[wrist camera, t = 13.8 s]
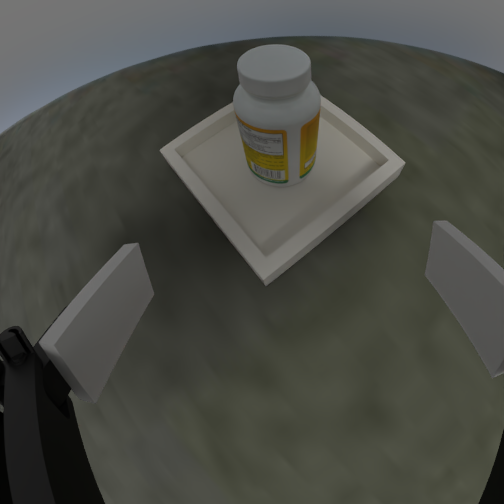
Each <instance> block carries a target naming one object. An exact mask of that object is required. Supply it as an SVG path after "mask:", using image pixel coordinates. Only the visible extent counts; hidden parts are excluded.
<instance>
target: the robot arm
mask: <svg viewBox="0 0 504 504" xmlns="http://www.w3.org/2000/svg"><path fill="white" fill-rule="evenodd" d="M425 276H426V277H427V279H428V280H429V281H430V283H431V284H432V285H433V287H434V288H435V289H436V291H437V292H438V293H439V295H440V296H441V298H442V299H443V300H444V302H445V303H446V305H447V306H448V307H449V309H450V310H451V312H452V313H453V315H454V316H455V318H456V319H457V321H458V322H459V324H460V325H461V327H462V328H463V330H464V331H465V333H466V334H467V336H468V338H469V339H470V341H471V342H472V344H473V346H474V347H475V349H476V351H477V352H478V354H479V356H480V357H481V359H482V361H483V363H484V364H485V366H486V368H487V370H488V371H489V373H490V375H491V377H492V378H494V377H496V376H498V375H501V374H503V373H504V269H503V268H502V267H501V266H500V265H498V264H497V263H496V262H495V261H494V260H493V259H492V258H491V257H490V256H489V255H488V254H486V253H485V252H484V251H483V250H482V249H481V248H480V247H478V246H477V245H476V244H475V243H474V242H473V241H471V240H470V239H469V238H468V237H467V236H465V235H464V234H463V233H462V232H460V231H459V230H458V229H457V228H455V227H454V226H453V225H452V224H450V223H449V222H448V221H433V229H432V236H431V243H430V249H429V255H428V260H427V266H426V271H425ZM153 296H154V291H153V288H152V285H151V282H150V279H149V276H148V273H147V270H146V267H145V263H144V260H143V257H142V254H141V250H140V247H139V243H133V244H124V245H123V246H122V247H121V248H120V249H119V250H118V251H117V252H116V253H115V254H114V256H113V257H112V258H111V259H110V260H109V261H108V262H107V263H106V264H105V265H104V266H103V267H102V268H101V269H100V270H99V271H98V272H97V274H96V275H95V276H94V277H93V278H92V279H91V280H90V281H89V282H88V283H87V285H86V286H85V287H84V288H83V289H82V290H81V291H80V292H79V294H78V295H77V296H76V297H75V298H74V299H73V300H72V302H71V303H70V304H69V305H68V306H66V307H65V308H64V309H63V311H62V312H61V313H60V314H59V315H58V318H56V319H55V320H54V322H53V324H51V325H50V326H49V328H48V329H47V330H46V331H45V333H44V334H43V335H42V337H41V338H40V339H39V340H38V342H37V343H36V344H35V346H34V347H32V345H31V343H30V342H29V340H28V339H27V337H26V335H25V334H24V332H23V330H22V329H21V328H20V327H19V326H13V327H10V328H8V329H6V330H5V331H3V332H2V333H1V334H0V356H1V357H2V359H3V360H4V361H1V360H0V404H1V405H2V406H3V407H4V412H3V413H2V412H0V504H105V502H104V500H103V498H102V495H101V493H100V491H99V488H98V486H97V483H96V480H95V478H94V475H93V472H92V470H91V467H90V464H89V461H88V458H87V455H86V452H85V449H84V445H83V442H82V439H81V435H80V431H79V428H78V424H77V420H76V416H75V412H74V407H73V403H72V401H71V398H70V397H69V396H68V394H69V392H70V390H71V389H72V391H73V392H74V393H75V394H76V396H77V397H78V398H79V399H80V400H83V401H87V402H91V403H95V404H96V402H97V400H98V398H99V396H100V394H101V392H102V390H103V388H104V386H105V384H106V382H107V380H108V378H109V376H110V374H111V372H112V370H113V368H114V366H115V364H116V362H117V361H118V359H119V357H120V355H121V353H122V351H123V349H124V347H125V346H126V344H127V342H128V340H129V338H130V336H131V335H132V333H133V331H134V329H135V327H136V325H137V324H138V322H139V320H140V318H141V317H142V315H143V313H144V311H145V310H146V308H147V306H148V304H149V303H150V301H151V299H152V297H153ZM479 504H504V430H503V434H502V438H501V442H500V446H499V449H498V452H497V456H496V459H495V462H494V465H493V468H492V471H491V474H490V477H489V479H488V482H487V484H486V487H485V490H484V492H483V494H482V497H481V499H480V501H479Z"/></svg>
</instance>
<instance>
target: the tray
mask: <svg viewBox="0 0 504 504" xmlns="http://www.w3.org/2000/svg"><path fill="white" fill-rule="evenodd" d="M320 96H321V95H320ZM160 152H161V153H162V155H163V156H164V158H165V159H166V161H167V163H168V164H169V165H170V166H171V168H172V169H173V170H174V172H175V173H176V174H177V175H178V177H179V178H180V179H181V180H182V182H183V183H184V184H185V186H186V187H187V188H188V189H189V191H190V192H191V193H192V194H193V196H194V197H195V198H196V200H197V201H198V202H199V203H200V205H201V206H202V207H203V208H204V210H205V211H206V212H207V213H208V215H209V216H210V217H211V219H212V220H213V221H214V222H215V224H216V225H217V226H218V227H219V229H220V230H221V231H222V232H223V234H224V235H225V236H226V237H227V239H228V240H229V241H230V242H231V244H232V245H233V246H234V247H235V249H236V250H237V251H238V252H239V254H240V255H241V256H242V257H243V259H244V260H245V261H246V262H247V264H248V265H249V266H250V267H251V269H252V270H253V271H254V272H255V274H256V275H257V276H258V277H259V279H260V280H261V281H262V282H263V284H264V285H265V286H267V285H268V284H270V283H271V282H272V281H274V280H275V279H276V278H277V277H279V276H280V275H281V274H282V273H284V272H285V271H286V270H287V269H289V268H290V267H291V266H292V265H294V264H295V263H296V262H297V261H299V260H300V259H301V258H302V257H304V256H305V255H306V254H307V253H308V252H310V251H311V250H312V249H313V248H315V247H316V246H317V245H318V244H319V243H321V242H322V241H323V240H324V239H326V238H327V237H328V236H329V235H330V234H332V233H333V232H334V231H335V230H336V229H338V228H339V227H340V226H341V225H342V224H344V223H345V222H346V221H347V220H348V219H349V218H351V217H352V216H353V215H354V214H355V213H357V212H358V211H359V210H360V209H361V208H362V207H364V206H365V205H366V204H367V203H368V202H369V201H371V200H372V199H373V198H374V197H375V196H376V195H378V194H379V193H380V192H381V191H382V190H383V189H384V188H386V187H387V186H388V185H389V184H390V183H391V182H392V181H394V180H395V179H396V178H397V177H398V176H399V174H400V172H401V170H402V168H403V167H404V165H405V162H404V161H403V160H402V159H401V158H400V157H399V156H398V155H396V154H395V153H394V152H393V151H392V150H391V149H390V148H389V147H387V146H386V145H385V144H384V143H383V142H382V141H380V140H379V139H378V138H377V137H376V136H374V135H373V134H372V133H371V132H369V131H368V130H367V129H366V128H365V127H363V126H362V125H361V124H359V123H358V122H357V121H356V120H354V119H353V118H352V117H350V116H349V115H348V114H346V113H345V112H344V111H342V110H341V109H340V108H338V107H337V106H335V105H334V104H333V103H331V102H330V101H328V100H327V99H325V98H324V97H322V96H321V108H320V119H319V130H318V140H317V150H316V159H315V164H314V167H313V169H312V171H311V172H310V174H309V175H308V176H307V177H306V178H305V179H304V180H302V181H301V182H299V183H297V184H295V185H291V186H286V187H276V186H271V185H267V184H265V183H263V182H261V181H260V180H258V179H257V178H256V177H255V176H254V175H253V174H252V173H251V171H250V169H249V167H248V164H247V160H246V156H245V152H244V148H243V144H242V140H241V136H240V132H239V128H238V123H237V119H236V115H235V111H234V106H233V102H232V103H230V104H229V105H227V106H225V107H224V108H222V109H220V110H219V111H217V112H215V113H214V114H212V115H211V116H209V117H207V118H206V119H204V120H203V121H201V122H200V123H198V124H196V125H195V126H193V127H192V128H190V129H189V130H187V131H186V132H184V133H183V134H181V135H180V136H179V137H177V138H176V139H174V140H173V141H171V142H170V143H169V144H167V145H166V146H164V147H163V148H162V149H160Z"/></svg>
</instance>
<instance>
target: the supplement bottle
mask: <svg viewBox="0 0 504 504" xmlns="http://www.w3.org/2000/svg"><path fill="white" fill-rule="evenodd" d="M237 70H238V75H239V82H240V84H239V86H238V87H237V89H236V91H235V93H234V97H233V106H234V111H235V115H236V119H237V123H238V128H239V132H240V136H241V140H242V144H243V148H244V152H245V156H246V160H247V164H248V167H249V169H250V171H251V173H252V174H253V175H254V176H255V177H256V178H257V179H258V180H260V181H261V182H263V183H265V184H267V185H271V186H276V187H286V186H291V185H295V184H297V183H299V182H301V181H302V180H304V179H305V178H306V177H307V176H308V175H309V174H310V172H311V171H312V169H313V167H314V164H315V159H316V150H317V140H318V130H319V119H320V108H321V96H320V93H319V90H318V88H317V86H316V85H315V84H314V83H313V82H312V80H311V61H310V58H309V57H308V55H307V54H306V53H304V52H303V51H302V50H300V49H298V48H295V47H292V46H288V45H281V44H271V45H264V46H259V47H256V48H253V49H251V50H249V51H247V52H246V53H244V54H243V55H242V56H241V57H240V58H239V60H238V62H237Z"/></svg>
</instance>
